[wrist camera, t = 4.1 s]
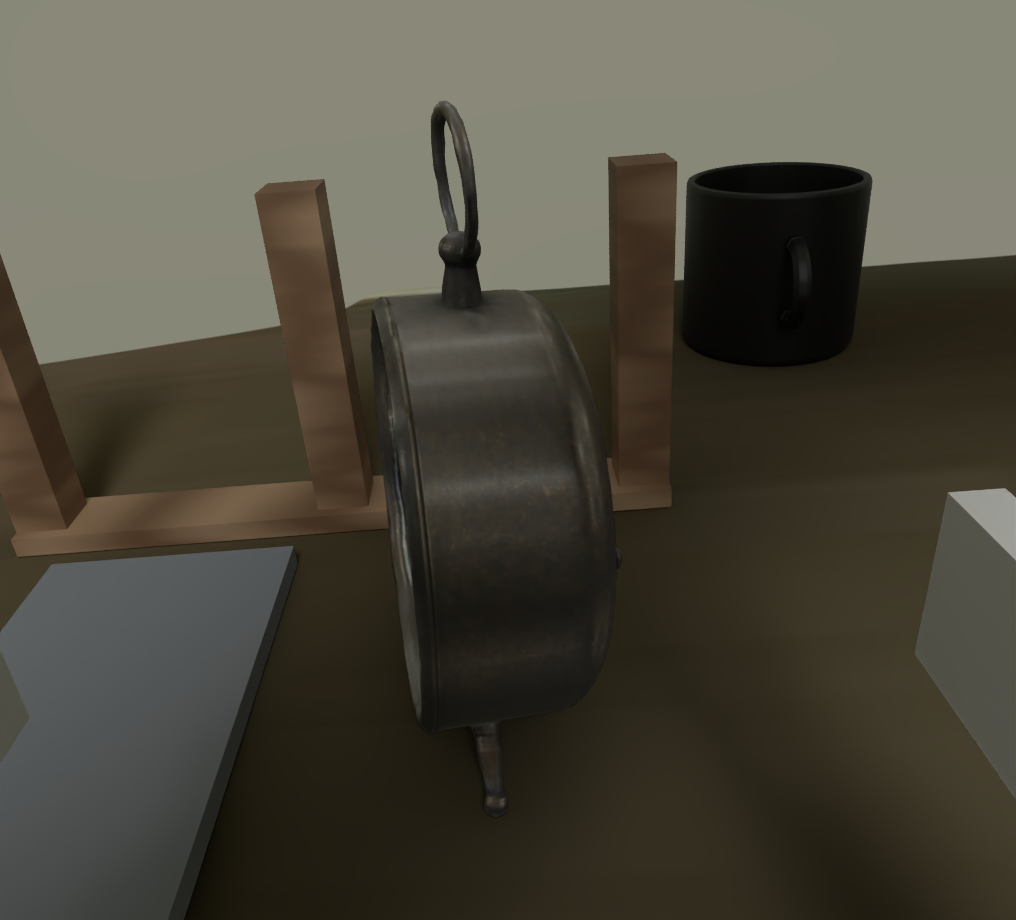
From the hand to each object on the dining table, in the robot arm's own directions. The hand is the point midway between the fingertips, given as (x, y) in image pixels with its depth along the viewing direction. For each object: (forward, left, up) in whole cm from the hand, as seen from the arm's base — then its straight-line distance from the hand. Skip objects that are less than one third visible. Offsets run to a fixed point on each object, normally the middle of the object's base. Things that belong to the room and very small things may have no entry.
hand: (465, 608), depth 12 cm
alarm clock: (0, -10, -11) cm, 15 cm away
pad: (+12, -10, -11) cm, 19 cm away
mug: (-16, -36, -11) cm, 41 cm away
